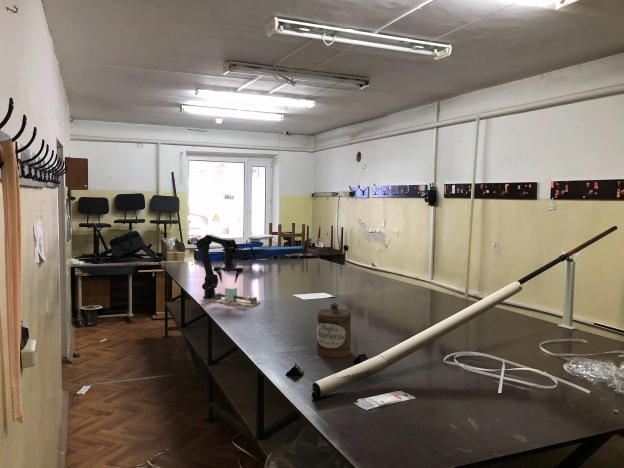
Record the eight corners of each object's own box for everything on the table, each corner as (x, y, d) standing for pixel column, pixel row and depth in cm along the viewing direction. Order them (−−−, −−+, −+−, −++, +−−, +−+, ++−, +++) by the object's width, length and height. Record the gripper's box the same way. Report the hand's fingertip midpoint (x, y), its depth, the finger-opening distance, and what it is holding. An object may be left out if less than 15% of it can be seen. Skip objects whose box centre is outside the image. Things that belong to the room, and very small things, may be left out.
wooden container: (311, 355, 206) (312, 304, 204) (323, 345, 220) (324, 298, 218) (344, 360, 201) (345, 308, 199) (354, 349, 215) (355, 301, 213)
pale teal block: (224, 300, 306) (224, 288, 306) (229, 298, 311) (229, 287, 310) (232, 301, 304) (232, 289, 303) (237, 299, 308) (237, 287, 308)
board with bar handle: (211, 301, 307) (211, 294, 307) (221, 298, 317) (221, 291, 317) (251, 307, 295) (251, 299, 294) (260, 303, 305) (260, 296, 304)
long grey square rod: (215, 297, 311) (215, 293, 310) (218, 296, 313) (218, 292, 313) (253, 301, 299) (253, 298, 299) (255, 301, 301) (255, 297, 301)
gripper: (211, 259, 300) (211, 284, 301) (241, 261, 300) (240, 285, 301) (215, 257, 311) (215, 280, 313) (244, 258, 311) (243, 282, 312)
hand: (228, 282), depth 309 cm, fingers open, 9 cm apart
